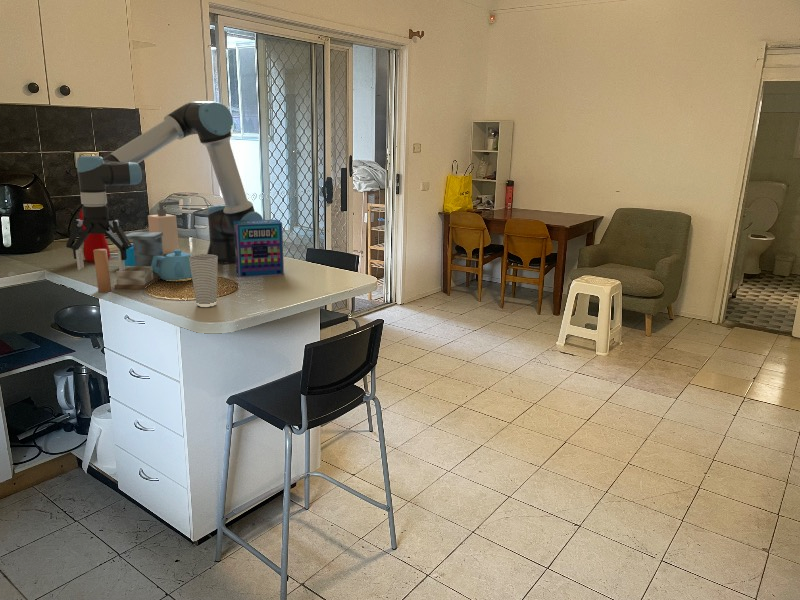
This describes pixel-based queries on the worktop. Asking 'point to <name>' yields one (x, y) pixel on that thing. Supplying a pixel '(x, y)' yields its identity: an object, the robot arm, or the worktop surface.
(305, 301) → the worktop surface
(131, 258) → the mug
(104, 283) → the peg
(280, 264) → the box
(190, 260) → the cup
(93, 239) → the water bottle
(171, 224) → the soap dispenser
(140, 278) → the socket station
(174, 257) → the teapot
